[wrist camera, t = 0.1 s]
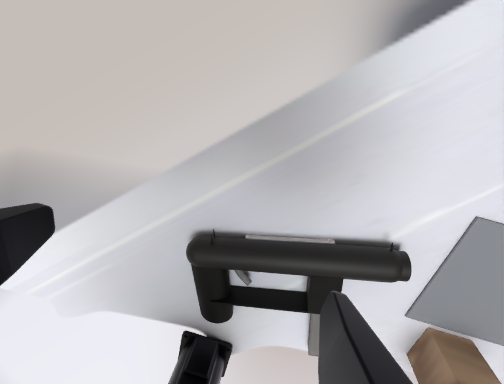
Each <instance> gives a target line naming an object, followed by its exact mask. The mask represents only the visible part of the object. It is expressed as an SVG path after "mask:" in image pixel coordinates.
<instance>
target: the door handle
mask: <svg viewBox="0 0 504 384" xmlns="http://www.w3.org/2000/svg"><path fill="white" fill-rule="evenodd" d="M213 232H214V229H213ZM392 247H393V243H392V244H391V248H389V247H374V246H358V245H341V244H335V241H334V240H332V239H331V238H328V239H311V238H294V237H276V236H259V235H246V237H245V239H242V238H225V237H215V233H214V237H212V236H211V237H209V236H199V237H196V238H194V239H193V240H191V241H190V243H189V244H188V246H187V249H186V255H187V258H188V260H189V262H190V263H191V266H192V271H193V276H194V281H195V286H196V291H197V295H198V300H199V305H200V310H201V314H202V316H203V318H204V319H206V320H207V321H209V322H212V323H223V322H226V321H228V320H229V319H230V318H231V317H232V315H233V308H232V305H235V306H245V307H254V308H264V309H274V310H283V311H293V312H302V313H311V314H310V327H309V340H308V354H309V355H311V356H318V357H319V325H320V312H321V309H322V307H323V305H324V303H325V301H326V299H327V297H328V295H329V293H330V292H331V291H336V292H339V293H341V291H342V284H343V279H352V280H365V281H377V282H396V281H408V280H409V279H410V277H411V262H410V258H409V256H408V254H407V253H406V252H404V251H397V250H395V249H393V248H392ZM228 269H229V270H235V272H236V273H237V275H238V276H239V278H240V279H241V280H242V281H243V282H244V283H245V284H246V285H249V284H250V283H251V279H249V278H248V277H247V276H246V275H245V273H244V272H243V271H254V272H266V273H278V274H291V275H303V276H308V281H307V292H299V291H288V290H277V289H266V288H255V287H244V286H233V285H230V283H229V274H228Z"/></svg>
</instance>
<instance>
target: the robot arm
mask: <svg viewBox="0 0 504 384" xmlns="http://www.w3.org/2000/svg"><path fill="white" fill-rule="evenodd" d="M54 231H55V222H54V214H53V209H52V208H51V207H50V206H47V205H43V204H40V203H33V204H26V205H20V206H14V207H8V208H2V209H0V286H1V285H2V284H3V283H4V282H5V281H6V280H8V279H9V278H10V277H11V276H12V275H13V274H14V273H15V272H16V271H17V270H18V269H19V268H20V267H21V266H22V265H23V264H24V263H25V262H26V261H27V260H28V259H29V258H30V257H31V256H32V255H33V254H34V253H35V252H36V251H37V250H38V249H39V248H40V247H41V246H42V245H43V244H44V243H45V242H46V241H47V240H48V239H49V238H50V237H51V236H52V235H53V233H54ZM231 352H232V345H230V344H228V343H225V342H221V341H218V340H215V339H212V338H209V337H205V336H202V335H199V334H196V333H192V332H189V331H184V332H183V334H182V339H181V345H180V351H179V357H178V362H177V364H176V366H175V369H174V371H173V374H172V376H171V378H170V381H169V383H168V384H219V383H220V380H221V377H223V376H224V374H225V370H226V368H227V364H228V361H229V358H230V355H231ZM318 374H319V384H413V383H412V382H411V381H410V380H409V378H408V377H407V375H406V374H405V373H404V371H403V370H402V369H401V367H400V366H399V365H398V363H397V362H396V361H395V359H394V358H393V357H392V355H391V354H390V353H389V351H388V350H387V349H386V347H385V346H384V345H383V343H382V342H381V341H380V339H379V338H378V337H377V335H376V334H375V333H374V331H373V330H372V329H371V327H370V326H369V325H368V323H367V322H366V321H365V320H364V318H363V317H362V316H361V314H360V313H359V312H358V310H357V309H356V308H355V306H354V305H353V304H352V302H351V301H350V300H349V298H348V297H347V296H346V295H345V294H343V293H339V292H336V291H331V292H330V293H329V295H328V297H327V299H326V301H325V303H324V305H323V307H322V309H321V312H320V325H319V358H318Z"/></svg>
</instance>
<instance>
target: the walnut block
mask: <svg viewBox="0 0 504 384" xmlns="http://www.w3.org/2000/svg"><path fill="white" fill-rule="evenodd" d="M407 356H408V359H409V361H410V363H411V366H412V368H413V371H414V373H415V375H416V378H417V381H418V383H419V384H501V383H500V381H499V380H498V378H497V377H496V375H495V374H494V372H493V371H492V369H491V368H490V366H489V365H488V363H487V362H486V361H485V359H484V358H483V356H482V355H481V353H480V352H479V350H478V349H477V347H476V346H475V344H474V343H473V342H472V341H471V340H468V339H464V338H461V337H458V336H454V335H451V334H448V333H444V332H441V331H437V330H434V329H431V328H427V330H426V331H425V332H424V333H423V334H422V336H421V337H420V338H419V339H418V341H417V342H416V343H415V344H414V346H413V347H412V348H411V349H410V351H409V352H408V353H407Z"/></svg>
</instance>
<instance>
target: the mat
mask: <svg viewBox="0 0 504 384" xmlns="http://www.w3.org/2000/svg"><path fill="white" fill-rule="evenodd" d="M405 316H406V317H408V318H411V319H415V320H418V321H421V322H425V323H428V324H432V325H435V326H438V327H442V328H445V329H448V330H452V331H455V332H459V333H462V334H465V335H469V336H472V337H475V338H479V339H482V340H486V341H489V342H492V343H496V344H499V345H502V346H504V224H501V223H497V222H494V221H490V220H486V219H483V218H479V217H476V218H475V219H474V221H473V222H472V224H471V225H470V226H469V228H468V229H467V230H466V232H465V233H464V235H463V236H462V237H461V239H460V240H459V241H458V243H457V244H456V246H455V247H454V248H453V250H452V251H451V253H450V254H449V255H448V257H447V258H446V259H445V261H444V262H443V264H442V265H441V266H440V268H439V269H438V271H437V272H436V273H435V275H434V276H433V277H432V279H431V280H430V282H429V283H428V284H427V286H426V287H425V288H424V290H423V291H422V293H421V294H420V295H419V297H418V298H417V300H416V301H415V302H414V304H413V305H412V306H411V308H410V309H409V311H408V312H407V313H406V315H405Z"/></svg>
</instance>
